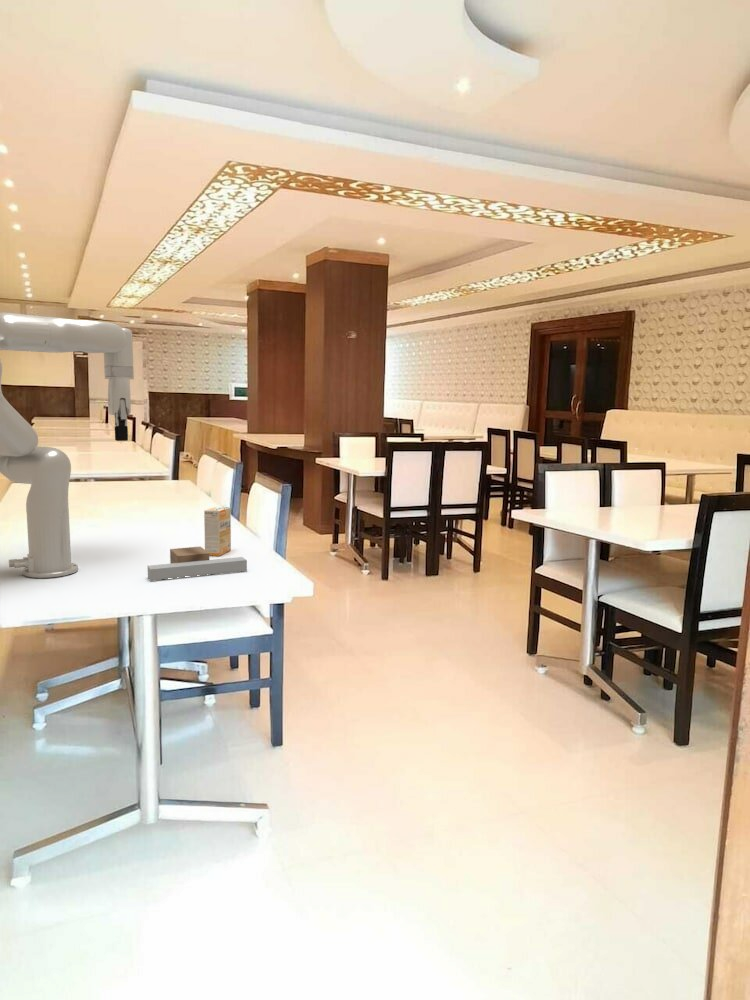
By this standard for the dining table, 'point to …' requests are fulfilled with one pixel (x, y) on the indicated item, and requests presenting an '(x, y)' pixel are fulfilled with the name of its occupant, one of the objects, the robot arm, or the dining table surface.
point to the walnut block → (188, 554)
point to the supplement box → (217, 530)
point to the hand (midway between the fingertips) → (121, 440)
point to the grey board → (197, 568)
